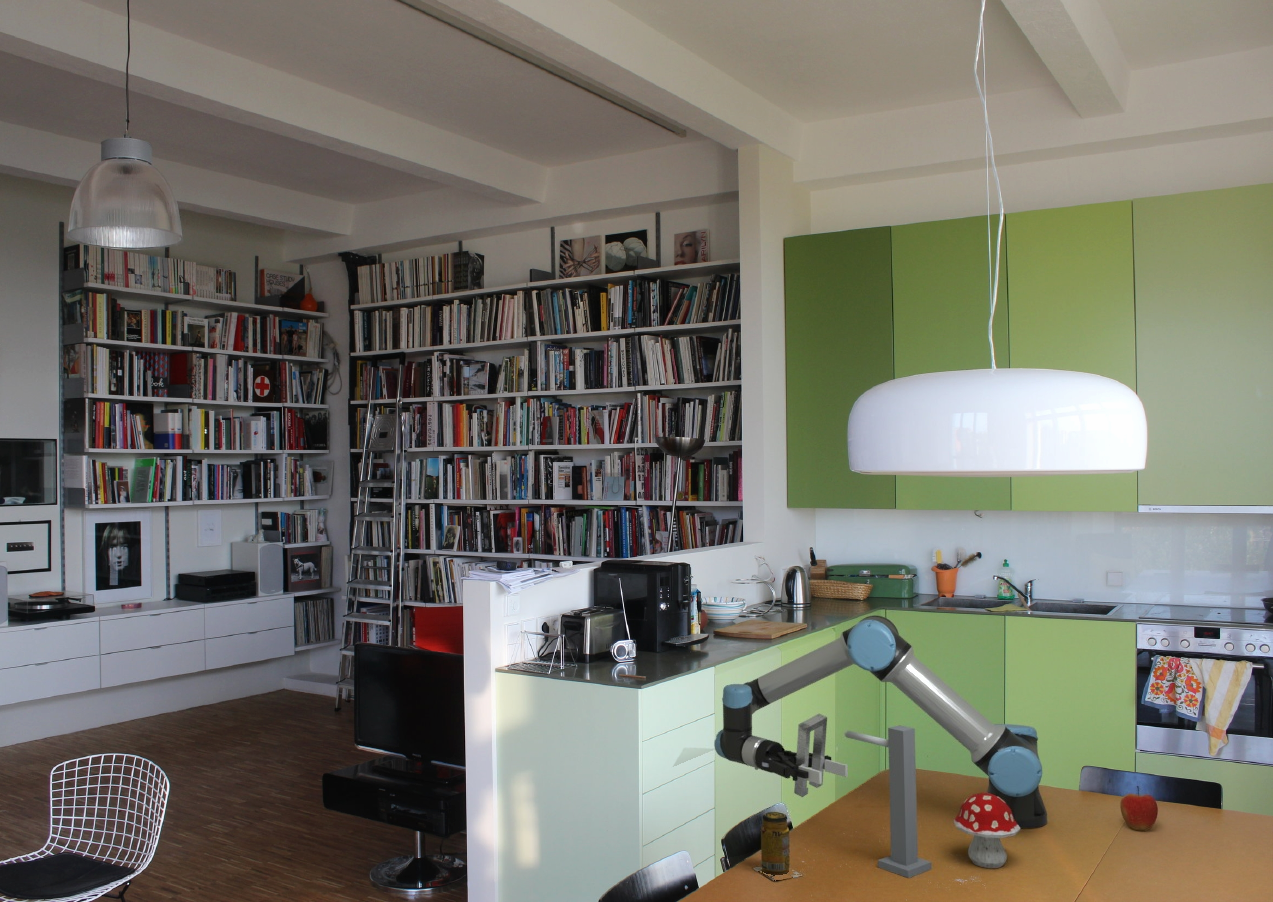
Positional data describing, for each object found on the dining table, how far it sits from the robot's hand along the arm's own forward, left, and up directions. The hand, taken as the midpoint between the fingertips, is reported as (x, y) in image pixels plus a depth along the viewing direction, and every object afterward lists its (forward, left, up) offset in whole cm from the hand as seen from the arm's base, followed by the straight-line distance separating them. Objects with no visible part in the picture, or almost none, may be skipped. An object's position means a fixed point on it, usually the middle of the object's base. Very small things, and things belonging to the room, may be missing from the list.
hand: (833, 774), depth 230 cm
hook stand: (-10, +9, -16) cm, 21 cm away
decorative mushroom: (-33, +7, -16) cm, 37 cm away
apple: (-72, -22, -16) cm, 77 cm away
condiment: (+12, +20, -16) cm, 28 cm away
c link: (+6, -6, -5) cm, 10 cm away
